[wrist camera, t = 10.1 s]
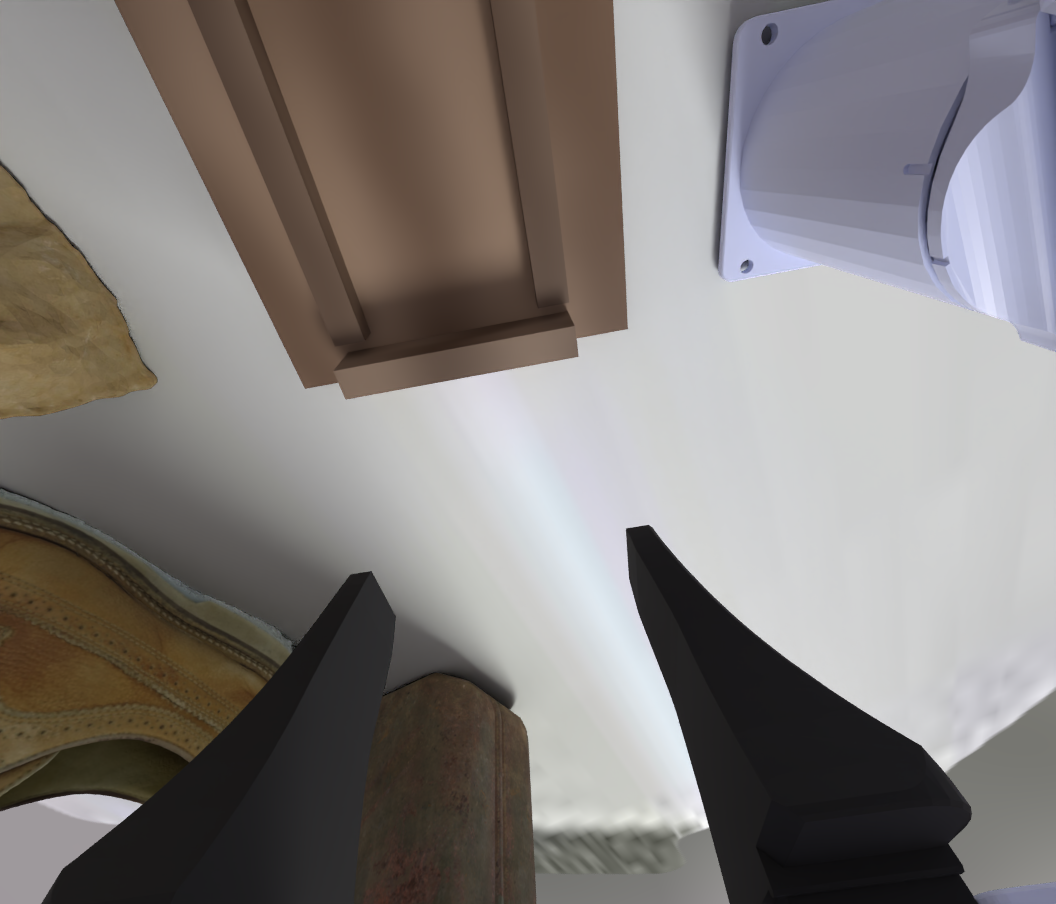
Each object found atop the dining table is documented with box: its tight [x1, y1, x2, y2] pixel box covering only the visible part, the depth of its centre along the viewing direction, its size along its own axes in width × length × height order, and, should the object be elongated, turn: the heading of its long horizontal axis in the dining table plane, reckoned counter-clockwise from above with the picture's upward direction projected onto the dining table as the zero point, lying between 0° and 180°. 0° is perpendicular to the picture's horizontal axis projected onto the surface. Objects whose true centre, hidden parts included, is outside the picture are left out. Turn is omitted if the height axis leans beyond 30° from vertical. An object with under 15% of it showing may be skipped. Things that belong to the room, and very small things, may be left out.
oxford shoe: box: [0, 489, 293, 811], centre depth 21 cm, size 28×10×11 cm, turn 45°
